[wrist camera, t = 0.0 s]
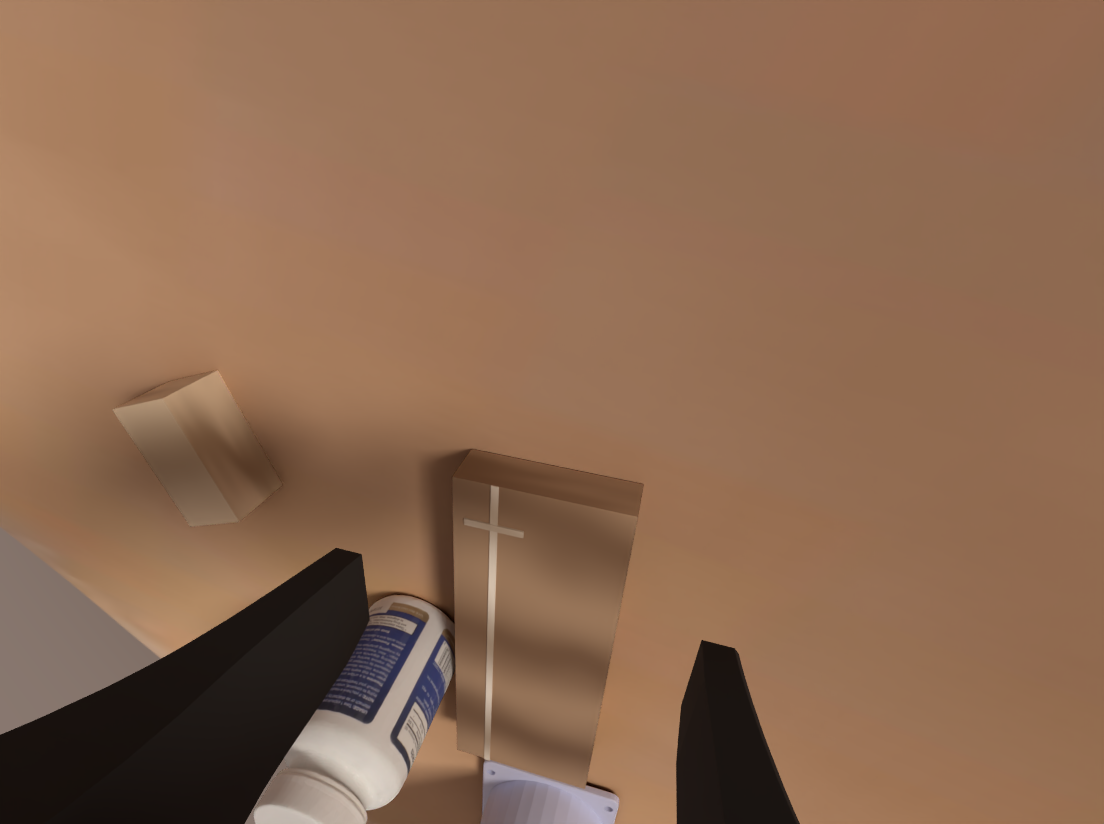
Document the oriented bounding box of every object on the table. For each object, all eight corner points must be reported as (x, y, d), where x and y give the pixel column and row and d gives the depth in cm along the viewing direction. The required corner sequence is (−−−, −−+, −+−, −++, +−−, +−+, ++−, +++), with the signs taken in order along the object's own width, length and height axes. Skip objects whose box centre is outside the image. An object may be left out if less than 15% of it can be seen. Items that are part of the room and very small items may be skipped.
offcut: (285, 482, 26) (239, 521, 24) (238, 488, 27) (190, 526, 25) (220, 368, 24) (162, 398, 21) (173, 379, 25) (112, 409, 22)
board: (592, 750, 30) (584, 790, 28) (470, 715, 31) (456, 751, 29) (643, 484, 21) (637, 518, 19) (471, 448, 22) (451, 477, 21)
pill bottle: (353, 620, 30) (216, 816, 22) (400, 574, 27) (264, 778, 19) (432, 678, 31) (328, 889, 22) (485, 638, 28) (390, 862, 20)
